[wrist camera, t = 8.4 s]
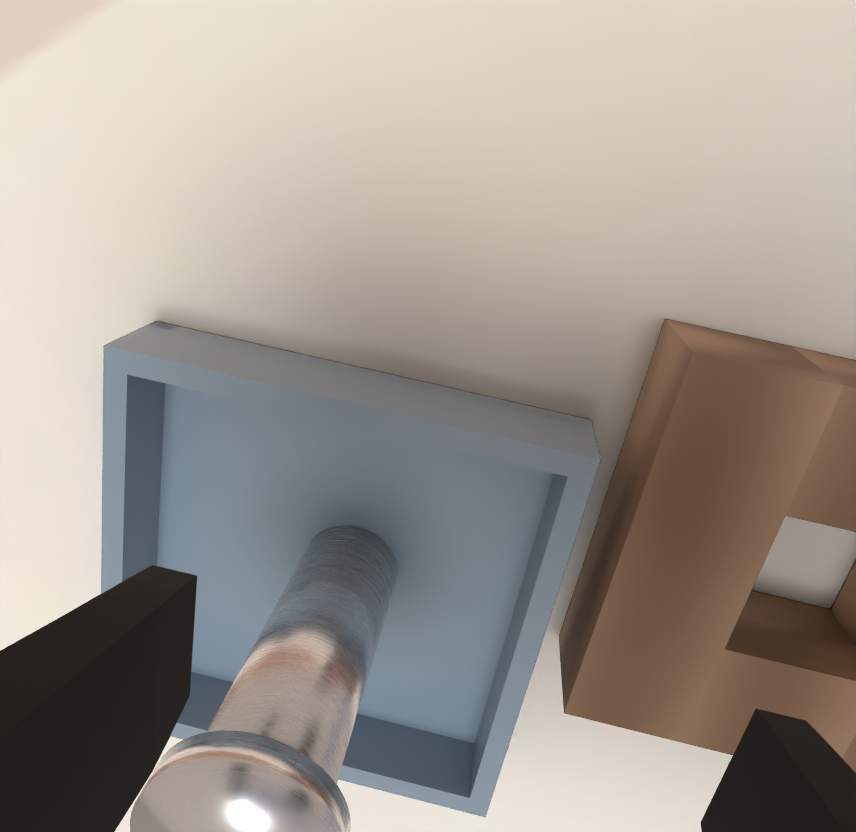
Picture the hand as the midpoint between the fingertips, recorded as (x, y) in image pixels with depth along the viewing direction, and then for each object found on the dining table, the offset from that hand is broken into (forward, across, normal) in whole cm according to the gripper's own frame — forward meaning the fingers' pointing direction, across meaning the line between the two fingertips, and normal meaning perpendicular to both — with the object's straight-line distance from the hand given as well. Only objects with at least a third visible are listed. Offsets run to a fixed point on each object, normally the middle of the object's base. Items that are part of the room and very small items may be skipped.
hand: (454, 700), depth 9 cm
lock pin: (+10, +3, +6) cm, 12 cm away
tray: (+10, +4, +6) cm, 12 cm away
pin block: (+10, -9, +2) cm, 14 cm away
